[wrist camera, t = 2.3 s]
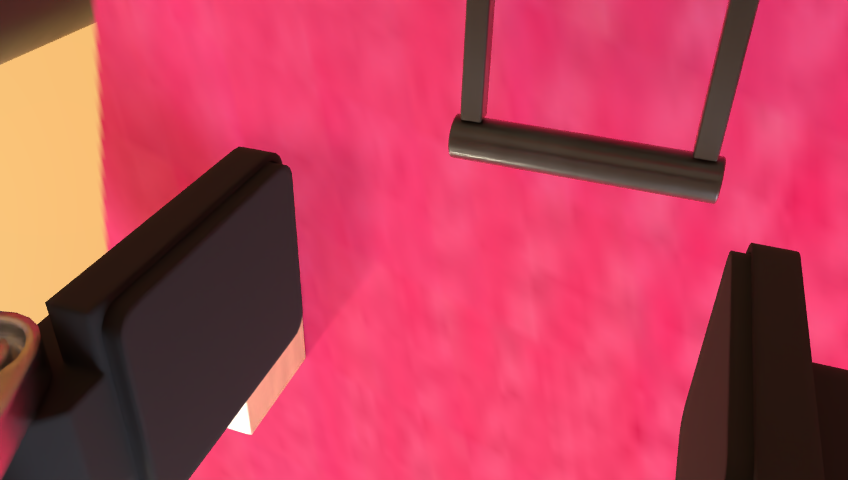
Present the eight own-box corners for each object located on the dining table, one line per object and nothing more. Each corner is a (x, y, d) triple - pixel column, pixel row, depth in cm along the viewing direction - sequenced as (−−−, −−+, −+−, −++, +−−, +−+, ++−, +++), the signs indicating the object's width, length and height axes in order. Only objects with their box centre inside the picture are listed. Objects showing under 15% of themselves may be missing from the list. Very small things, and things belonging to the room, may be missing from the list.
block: (210, 333, 37) (147, 405, 33) (196, 245, 34) (125, 312, 30) (306, 358, 36) (251, 435, 32) (299, 269, 33) (238, 342, 29)
